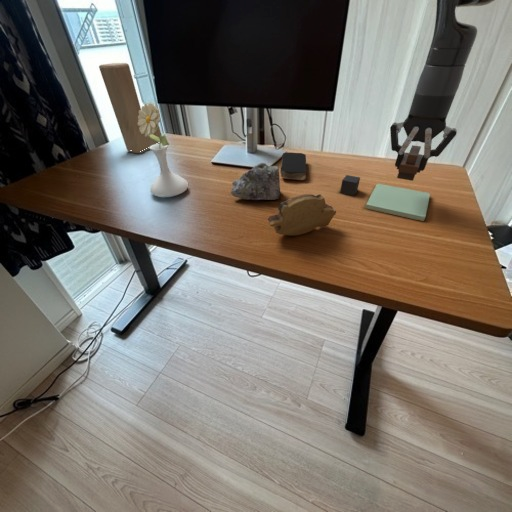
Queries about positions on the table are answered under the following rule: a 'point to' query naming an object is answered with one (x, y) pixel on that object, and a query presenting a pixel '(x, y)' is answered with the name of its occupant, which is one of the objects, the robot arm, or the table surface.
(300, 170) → the black sponge
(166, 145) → the flower in vase
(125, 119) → the decorative block
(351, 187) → the charcoal matte cube
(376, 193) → the tray
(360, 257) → the table surface
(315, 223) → the wooden carving
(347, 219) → the table surface
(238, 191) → the mineral rock
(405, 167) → the brown stepped block
